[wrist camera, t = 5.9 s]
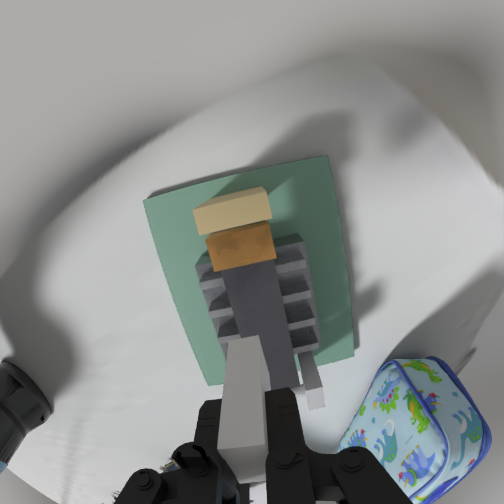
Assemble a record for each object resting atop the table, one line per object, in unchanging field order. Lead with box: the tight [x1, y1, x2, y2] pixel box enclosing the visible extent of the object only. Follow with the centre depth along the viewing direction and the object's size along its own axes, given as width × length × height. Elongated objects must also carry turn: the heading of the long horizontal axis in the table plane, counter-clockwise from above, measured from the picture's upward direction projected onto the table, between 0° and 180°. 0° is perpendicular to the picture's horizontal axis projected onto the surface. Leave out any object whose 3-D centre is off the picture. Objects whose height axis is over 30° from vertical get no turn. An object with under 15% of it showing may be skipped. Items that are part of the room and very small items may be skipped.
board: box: [143, 155, 354, 410], centre depth 26 cm, size 19×24×10 cm
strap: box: [205, 220, 300, 390], centre depth 22 cm, size 4×16×2 cm, turn 13°
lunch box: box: [337, 356, 492, 504], centre depth 26 cm, size 26×11×21 cm, turn 172°
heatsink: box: [195, 233, 321, 359], centre depth 27 cm, size 10×11×6 cm
